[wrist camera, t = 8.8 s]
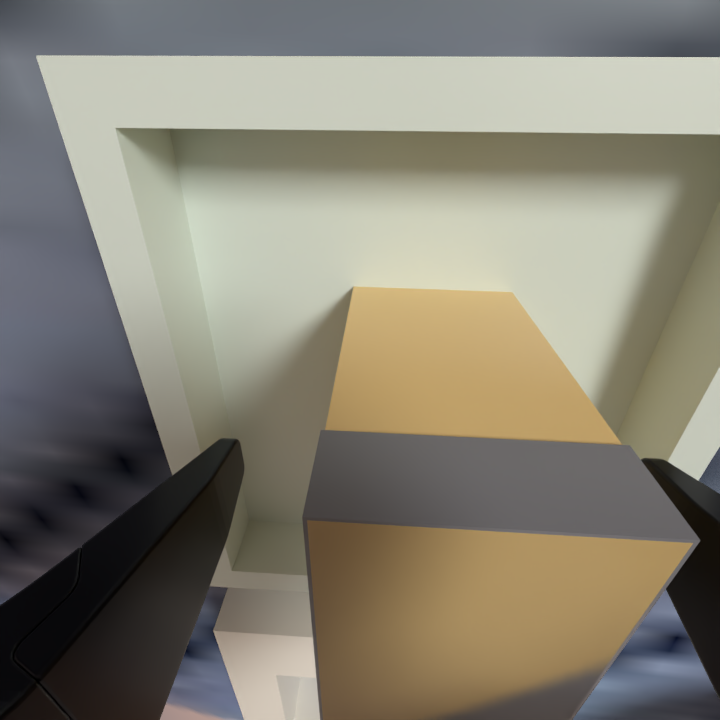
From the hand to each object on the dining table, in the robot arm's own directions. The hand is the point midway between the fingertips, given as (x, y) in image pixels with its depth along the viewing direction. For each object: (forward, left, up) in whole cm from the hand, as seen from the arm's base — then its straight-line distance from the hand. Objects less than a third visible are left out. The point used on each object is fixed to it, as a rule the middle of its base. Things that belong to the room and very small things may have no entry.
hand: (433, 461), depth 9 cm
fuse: (0, 0, -3) cm, 3 cm away
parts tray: (0, 0, -4) cm, 4 cm away
